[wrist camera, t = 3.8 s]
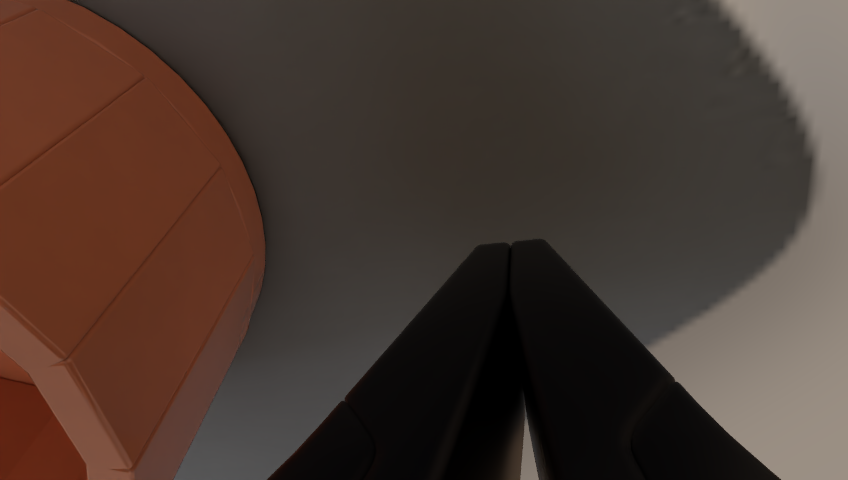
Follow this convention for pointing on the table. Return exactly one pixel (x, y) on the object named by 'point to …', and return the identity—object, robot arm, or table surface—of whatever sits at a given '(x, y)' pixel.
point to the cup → (112, 251)
